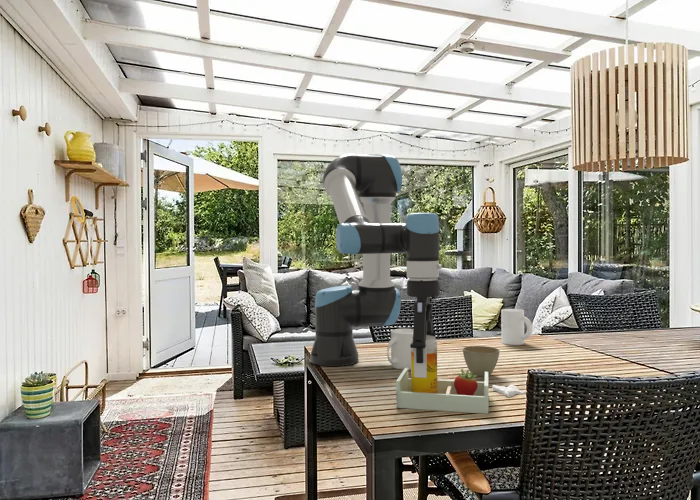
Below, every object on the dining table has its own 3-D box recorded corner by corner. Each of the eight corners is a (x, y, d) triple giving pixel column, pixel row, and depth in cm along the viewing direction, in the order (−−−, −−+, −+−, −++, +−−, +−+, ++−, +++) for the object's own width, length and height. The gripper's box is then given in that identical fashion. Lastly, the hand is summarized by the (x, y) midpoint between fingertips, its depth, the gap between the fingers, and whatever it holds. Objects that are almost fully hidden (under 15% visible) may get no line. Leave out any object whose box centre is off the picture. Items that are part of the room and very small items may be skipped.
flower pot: (474, 380, 142) (474, 353, 142) (456, 372, 152) (456, 347, 152) (507, 377, 145) (506, 351, 145) (487, 369, 155) (487, 344, 155)
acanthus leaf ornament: (508, 400, 127) (508, 392, 127) (488, 393, 133) (488, 385, 133) (531, 395, 130) (531, 387, 130) (511, 388, 136) (511, 381, 136)
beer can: (436, 405, 121) (436, 339, 121) (410, 404, 122) (409, 338, 122) (438, 397, 127) (437, 335, 127) (412, 396, 128) (411, 334, 128)
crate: (396, 407, 120) (396, 381, 120) (405, 391, 132) (405, 367, 132) (488, 413, 115) (488, 386, 115) (488, 396, 127) (488, 371, 127)
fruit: (476, 407, 119) (476, 372, 119) (452, 405, 121) (452, 370, 121) (478, 401, 124) (478, 367, 124) (455, 399, 126) (455, 365, 125)
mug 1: (377, 368, 158) (376, 332, 158) (405, 362, 165) (404, 327, 165) (397, 373, 151) (397, 335, 151) (426, 366, 159) (425, 330, 159)
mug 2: (525, 347, 186) (525, 313, 186) (496, 342, 195) (496, 310, 195) (538, 344, 191) (538, 311, 191) (509, 340, 200) (509, 308, 200)
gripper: (433, 283, 111) (434, 384, 112) (443, 275, 135) (444, 359, 136) (398, 283, 113) (399, 382, 113) (414, 275, 137) (415, 357, 138)
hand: (424, 370), depth 125 cm, fingers open, 13 cm apart
